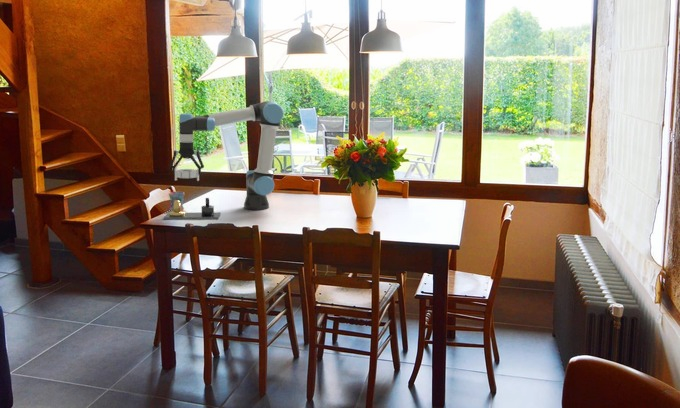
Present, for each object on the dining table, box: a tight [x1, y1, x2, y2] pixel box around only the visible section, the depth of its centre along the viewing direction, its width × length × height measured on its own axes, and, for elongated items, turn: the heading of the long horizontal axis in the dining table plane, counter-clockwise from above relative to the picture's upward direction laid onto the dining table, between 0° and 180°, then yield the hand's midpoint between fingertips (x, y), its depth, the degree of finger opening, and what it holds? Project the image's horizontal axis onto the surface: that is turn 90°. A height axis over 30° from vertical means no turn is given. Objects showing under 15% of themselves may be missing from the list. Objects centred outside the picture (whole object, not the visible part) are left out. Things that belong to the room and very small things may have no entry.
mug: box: [167, 191, 186, 211], centre depth 401 cm, size 12×9×11 cm
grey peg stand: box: [163, 197, 222, 221], centre depth 382 cm, size 30×13×11 cm, turn 94°
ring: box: [176, 168, 197, 179], centre depth 378 cm, size 12×12×4 cm
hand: (186, 180), depth 379 cm, fingers closed on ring, 11 cm apart
